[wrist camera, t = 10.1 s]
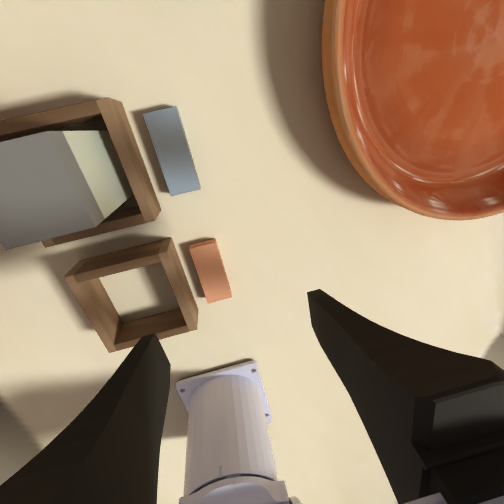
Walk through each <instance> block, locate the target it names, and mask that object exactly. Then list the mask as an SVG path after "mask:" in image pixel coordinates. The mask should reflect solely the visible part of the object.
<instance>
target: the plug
mask: <svg viewBox="0 0 504 504" xmlns="http://www.w3.org/2000/svg"><path fill="white" fill-rule="evenodd" d="M133 194H134V193H133V191H132V188H131V186H130V183H129V181H128V178H127V176H126V173H125V171H124V168H123V166H122V163H121V161H120V159H119V156H118V154H117V151H116V149H115V146H114V144H113V142H112V139H111V137H110V134H109V132H108V130H105V131H45V132H41V133H37V134H33V135H29V136H24V137H20V138H16V139H12V140H7V141H3V142H0V243H1V244H2V245H3V247H4V248H5V250H7V249H11V248H15V247H19V246H23V245H27V244H31V243H35V242H39V241H43V240H47V239H51V238H55V237H58V236H62V235H66V234H70V233H74V232H78V231H82V230H86V229H90V228H94V227H96V226H97V225H99V224H100V223H101V222H102V221H103V220H104V219H105V218H107V217H108V216H109V215H110V214H111V213H112V212H113V211H115V210H116V209H117V208H118V207H119V206H120V205H121V204H123V203H124V202H125V201H126V200H127V199H128V198H129V197H131V196H132V195H133Z"/></svg>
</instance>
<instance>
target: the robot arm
mask: <svg viewBox="0 0 504 504" xmlns="http://www.w3.org/2000/svg"><path fill="white" fill-rule="evenodd" d="M307 295H308V302H309V309H310V316H311V323H312V327H313V330H314V332H315V334H316V337H317V339H318V341H319V343H320V345H321V347H322V349H323V350H324V352H325V354H326V355H327V357H328V359H329V361H330V362H331V364H332V366H333V367H334V369H335V371H336V372H337V374H338V376H339V377H340V379H341V381H342V382H343V384H344V386H345V387H346V389H347V391H348V393H349V395H350V397H351V399H352V401H353V403H354V405H355V407H356V409H357V411H358V413H359V416H360V418H361V420H362V422H363V424H364V426H365V429H366V431H367V433H368V435H369V437H370V439H371V442H372V444H373V446H374V448H375V451H376V453H377V455H378V457H379V460H380V462H381V464H382V466H383V469H384V471H385V473H386V476H387V478H388V480H389V483H390V485H391V487H392V490H393V492H394V494H395V497H396V499H397V501H398V504H504V370H502V369H501V368H500V367H499V366H497V365H496V364H495V363H493V362H492V361H490V360H486V359H482V358H477V357H473V356H469V355H464V354H460V353H456V352H452V351H449V350H445V349H442V348H438V347H435V346H432V345H429V344H426V343H422V342H420V341H417V340H414V339H411V338H409V337H406V336H403V335H401V334H398V333H396V332H394V331H391V330H389V329H387V328H385V327H382V326H380V325H378V324H376V323H374V322H372V321H370V320H368V319H367V318H365V317H363V316H361V315H359V314H358V313H356V312H354V311H353V310H351V309H349V308H348V307H346V306H345V305H343V304H341V303H340V302H338V301H337V300H335V299H334V298H332V297H331V296H329V295H328V294H326V293H325V292H324V291H322V290H320V289H318V290H314V291H310V292H307ZM169 388H170V363H169V360H168V358H167V356H166V354H165V352H164V350H163V348H162V346H161V344H160V342H159V340H158V338H157V335H156V333H153V334H149V335H146V336H142V337H141V338H140V340H139V341H138V342H137V344H136V345H135V346H134V348H133V349H132V350H131V352H130V353H129V354H128V356H127V357H126V358H125V360H124V361H123V362H122V364H121V365H120V366H119V368H118V369H117V370H116V372H115V373H114V374H113V375H112V377H111V378H110V379H109V380H108V382H107V383H106V384H105V385H104V386H103V388H102V389H101V390H100V391H99V393H98V394H97V395H96V396H95V397H94V399H93V400H92V401H91V402H90V403H89V404H88V405H87V406H86V407H85V409H84V410H83V411H82V412H81V413H80V414H79V415H78V416H77V417H76V418H75V419H74V420H73V421H72V422H71V423H70V424H69V425H68V426H67V427H66V428H65V429H64V430H63V431H62V432H61V433H60V434H59V435H58V436H57V437H56V438H55V439H54V440H53V441H51V442H50V443H49V444H48V445H47V446H46V447H45V448H44V449H43V450H42V451H41V452H40V453H39V454H38V455H36V456H35V457H34V458H33V459H32V460H31V461H29V462H28V463H27V464H26V465H25V466H24V467H22V468H21V469H20V470H19V471H18V472H16V473H15V474H14V475H13V476H12V477H10V478H9V479H8V480H7V481H5V482H4V483H3V484H2V485H1V486H0V504H157V484H158V468H159V453H160V445H161V437H162V431H163V425H164V419H165V413H166V407H167V401H168V395H169ZM176 389H177V391H178V394H179V396H180V398H181V400H182V402H183V404H184V406H185V408H186V410H187V412H188V414H189V418H188V434H187V450H186V465H185V481H184V497H181V498H180V499H179V504H302V503H301V502H300V500H299V499H298V498H297V497H295V496H293V497H288V494H287V489H286V485H285V481H279V480H278V475H277V470H276V465H275V460H274V455H273V450H272V446H271V441H270V436H269V431H268V426H267V424H268V423H270V422H272V416H271V412H270V408H269V405H268V401H267V398H266V394H265V390H264V387H263V383H262V380H261V376H260V373H259V369H258V365H257V362H256V361H253V360H252V361H248V362H244V363H241V364H237V365H234V366H230V367H226V368H223V369H219V370H216V371H212V372H208V373H205V374H201V375H198V376H194V377H190V378H187V379H183V380H180V381H178V382H177V383H176Z"/></svg>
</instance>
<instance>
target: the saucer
mask: <svg viewBox="0 0 504 504" xmlns="http://www.w3.org/2000/svg"><path fill="white" fill-rule="evenodd" d="M322 68H323V80H324V87H325V94H326V99H327V104H328V108H329V112H330V116H331V120H332V123H333V126H334V129H335V132H336V134H337V137H338V139H339V142H340V144H341V146H342V148H343V150H344V152H345V154H346V156H347V157H348V159H349V161H350V162H351V164H352V165H353V167H354V168H355V169H356V171H357V172H358V173H359V174H360V176H361V177H362V178H363V179H364V180H365V182H367V183H368V184H369V185H370V186H371V187H372V188H373V189H374V190H375V191H377V192H378V193H379V194H380V195H382V196H383V197H385V198H386V199H388V200H390V201H391V202H393V203H395V204H397V205H399V206H401V207H404V208H406V209H408V210H410V211H412V212H415V213H418V214H420V215H423V216H428V217H432V218H437V219H444V220H472V219H478V218H484V217H488V216H492V215H496V214H499V213H502V212H504V0H325V5H324V14H323V25H322Z"/></svg>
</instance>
